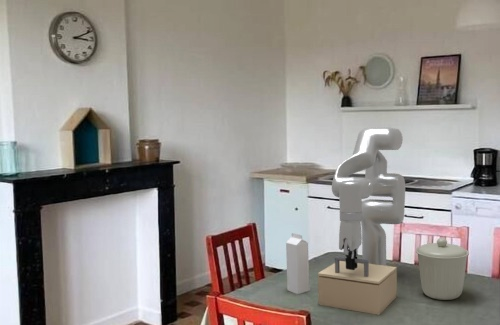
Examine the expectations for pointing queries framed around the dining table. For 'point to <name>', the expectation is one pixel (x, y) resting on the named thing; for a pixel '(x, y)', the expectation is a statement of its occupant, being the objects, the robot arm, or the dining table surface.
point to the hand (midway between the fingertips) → (351, 268)
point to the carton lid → (358, 271)
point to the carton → (357, 293)
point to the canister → (442, 269)
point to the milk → (297, 264)
